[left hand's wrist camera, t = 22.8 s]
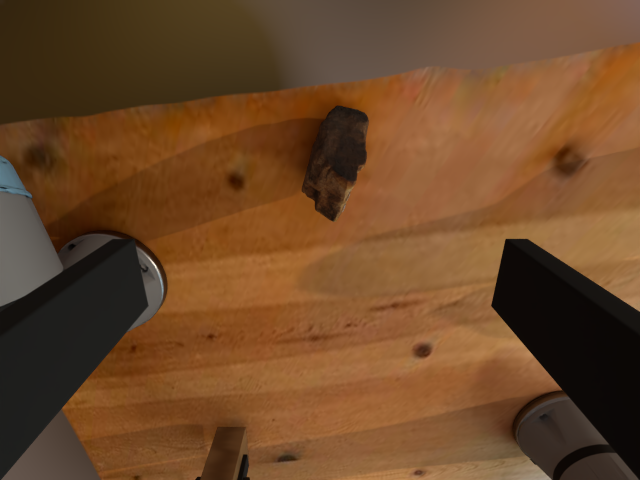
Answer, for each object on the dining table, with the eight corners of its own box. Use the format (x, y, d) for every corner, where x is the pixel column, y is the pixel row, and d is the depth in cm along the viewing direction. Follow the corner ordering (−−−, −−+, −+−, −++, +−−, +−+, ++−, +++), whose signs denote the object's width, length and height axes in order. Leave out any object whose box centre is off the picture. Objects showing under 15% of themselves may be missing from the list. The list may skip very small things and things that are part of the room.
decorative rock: (337, 204, 46) (341, 232, 36) (295, 188, 46) (288, 211, 36) (375, 117, 42) (392, 122, 32) (330, 98, 42) (333, 96, 32)
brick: (222, 458, 62) (204, 519, 53) (217, 426, 59) (197, 486, 50) (249, 458, 62) (235, 520, 53) (245, 427, 59) (231, 486, 50)
